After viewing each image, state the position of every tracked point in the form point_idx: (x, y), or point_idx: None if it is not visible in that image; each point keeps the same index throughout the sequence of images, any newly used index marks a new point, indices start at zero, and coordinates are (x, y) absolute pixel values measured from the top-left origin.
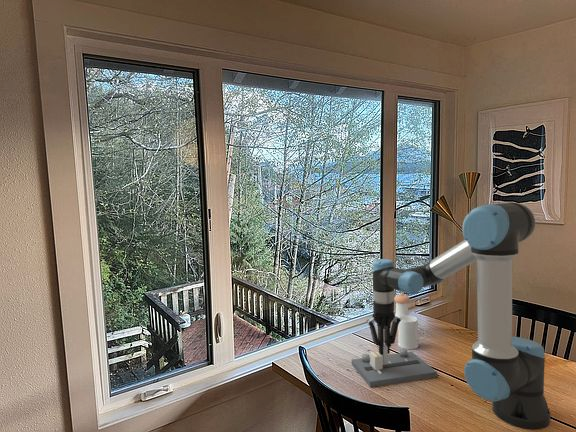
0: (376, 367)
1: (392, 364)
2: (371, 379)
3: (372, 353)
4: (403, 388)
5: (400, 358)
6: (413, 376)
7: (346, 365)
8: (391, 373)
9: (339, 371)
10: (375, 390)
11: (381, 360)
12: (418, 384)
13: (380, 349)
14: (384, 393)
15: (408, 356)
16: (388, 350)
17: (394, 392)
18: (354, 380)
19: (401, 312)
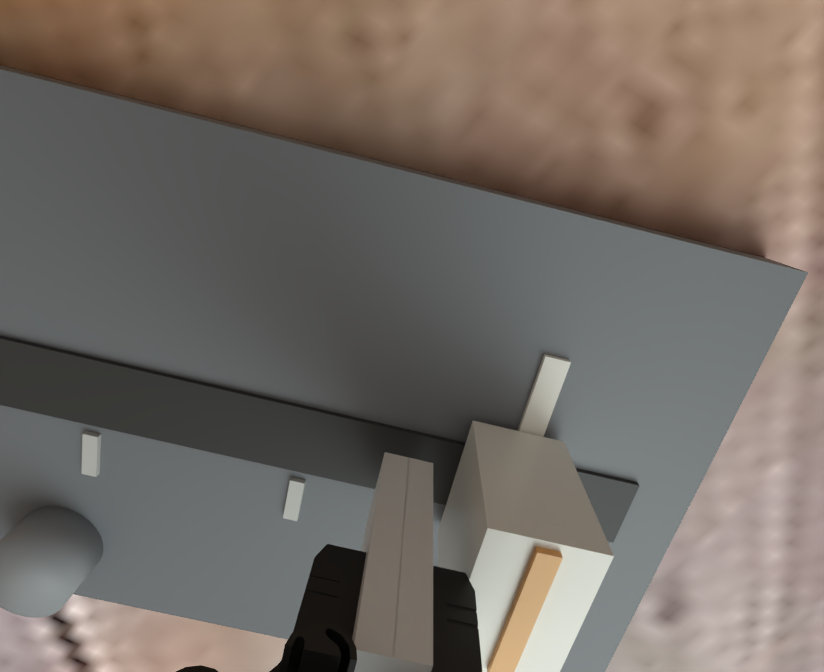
0: (553, 454)
1: (298, 449)
2: (752, 306)
3: (553, 648)
4: (476, 40)
5: (128, 511)
6: (234, 128)
7: (624, 664)
8: (444, 302)
9: (757, 619)
10: (775, 173)
11: (496, 488)
12: (255, 24)
13: (475, 652)
14: (748, 62)
15: (20, 503)
16: (329, 588)
17: (635, 18)
18: (781, 440)
19: None
